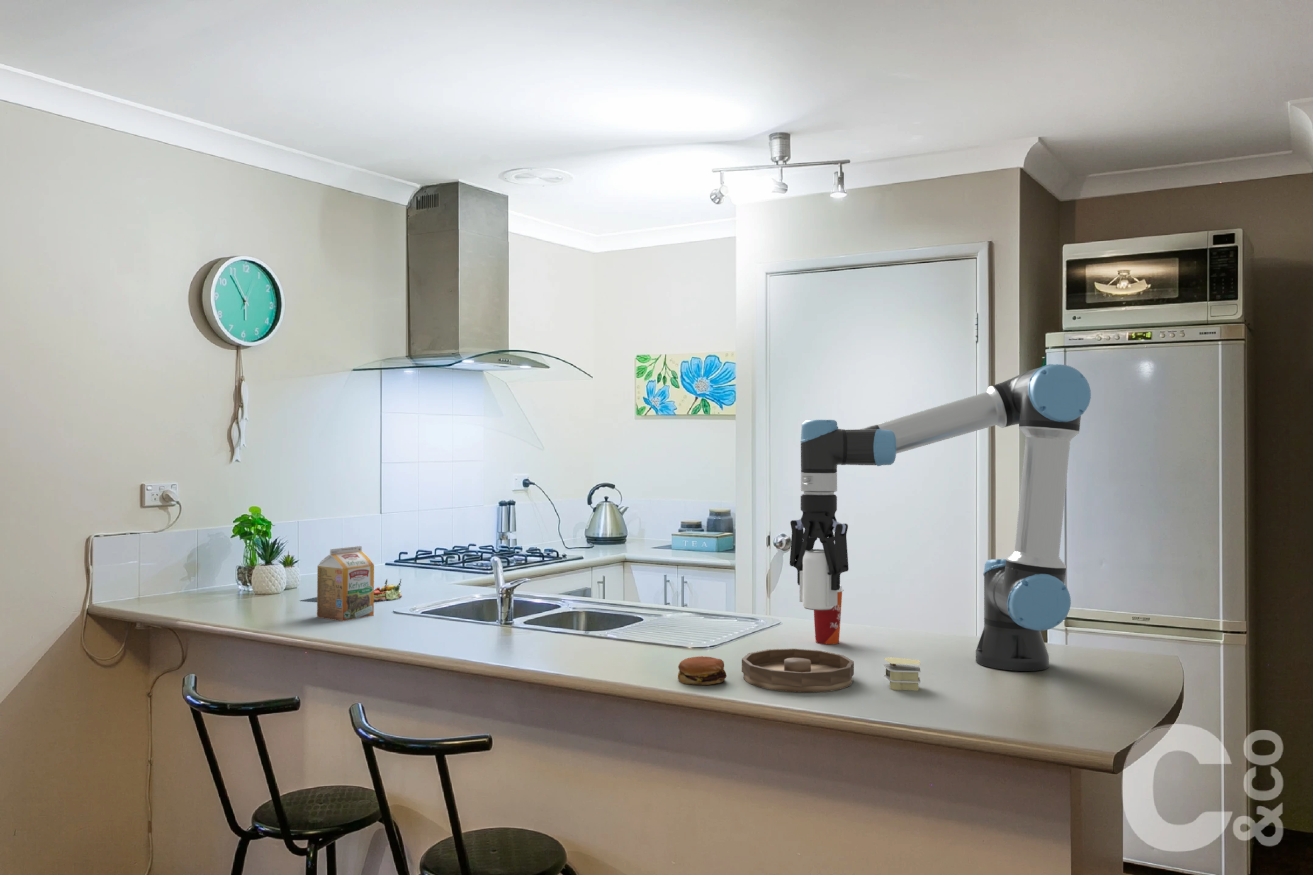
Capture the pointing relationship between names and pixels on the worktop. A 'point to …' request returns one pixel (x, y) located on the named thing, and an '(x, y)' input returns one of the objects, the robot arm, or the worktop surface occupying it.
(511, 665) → the worktop surface
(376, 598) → the plated dish
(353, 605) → the milk carton
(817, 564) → the can
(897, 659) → the yellow layered block
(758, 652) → the tray
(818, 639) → the paper cup
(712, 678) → the burger
